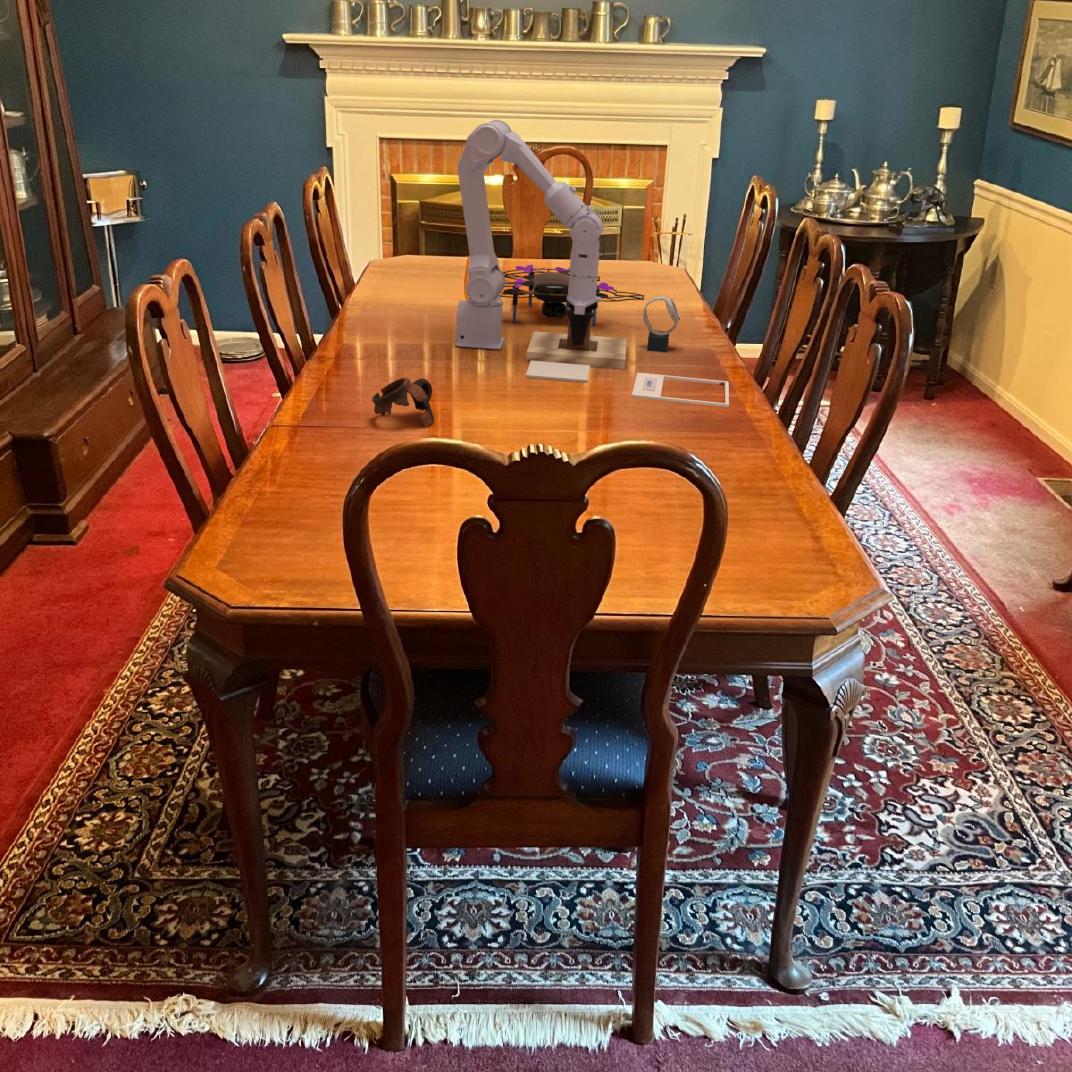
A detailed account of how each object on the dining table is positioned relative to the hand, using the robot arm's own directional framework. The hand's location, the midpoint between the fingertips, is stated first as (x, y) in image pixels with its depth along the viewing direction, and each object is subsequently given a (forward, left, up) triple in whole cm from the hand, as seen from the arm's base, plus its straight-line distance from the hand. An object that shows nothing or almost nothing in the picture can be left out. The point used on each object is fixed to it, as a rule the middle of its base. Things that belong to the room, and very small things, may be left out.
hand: (578, 340), depth 221 cm
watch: (+17, +10, -3) cm, 20 cm away
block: (0, 0, -3) cm, 3 cm away
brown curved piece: (-26, -48, -3) cm, 54 cm away
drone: (-8, +32, -3) cm, 33 cm away
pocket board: (0, 0, -3) cm, 3 cm away
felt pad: (-3, -14, -3) cm, 15 cm away
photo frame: (+21, -19, -4) cm, 29 cm away
